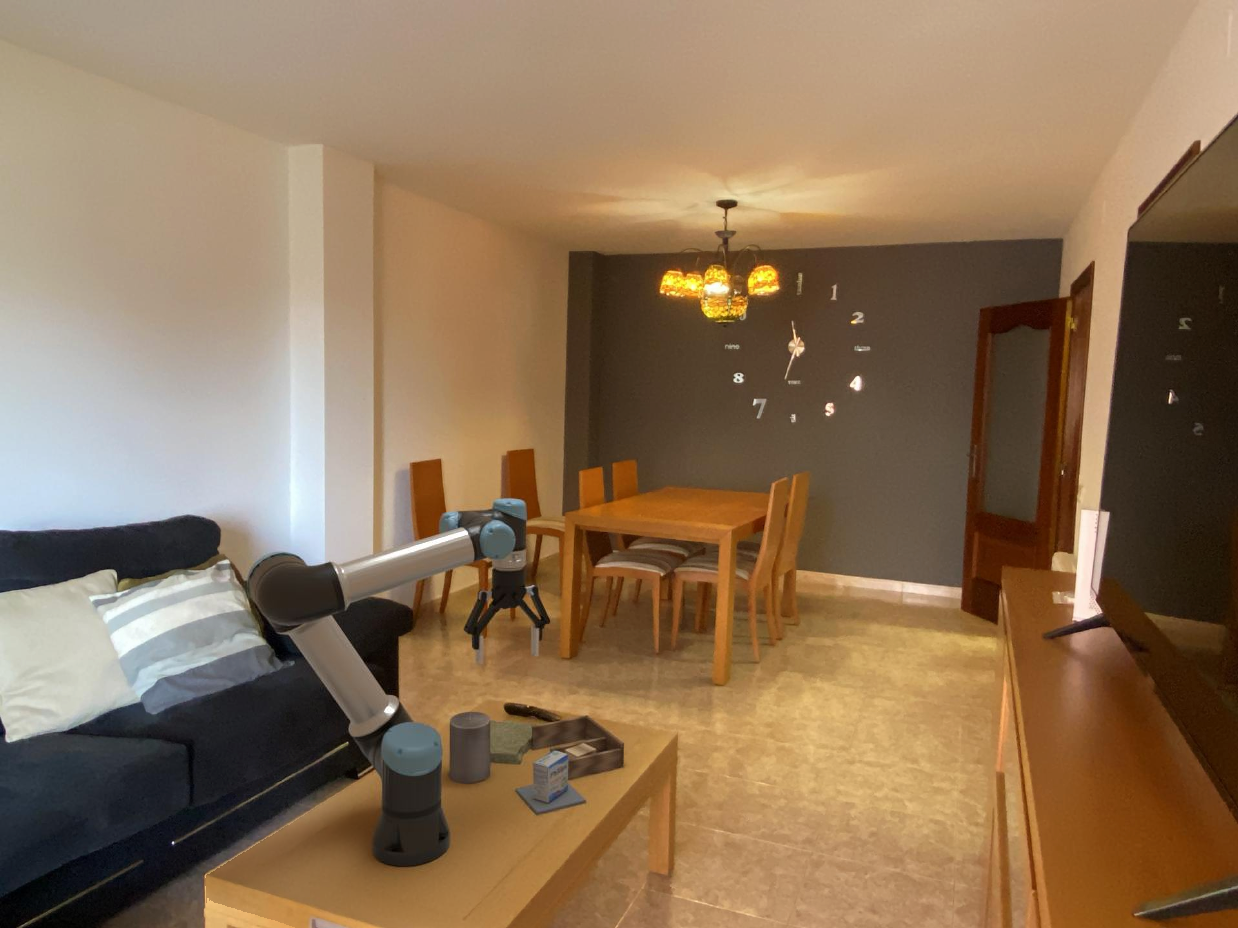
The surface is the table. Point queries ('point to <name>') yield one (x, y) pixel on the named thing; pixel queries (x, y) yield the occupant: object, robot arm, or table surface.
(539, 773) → the medicine box
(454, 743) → the pillar candle
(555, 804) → the mat
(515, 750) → the green stone slab
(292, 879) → the table surface
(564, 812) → the table surface
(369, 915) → the table surface
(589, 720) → the rack
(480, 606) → the robot arm
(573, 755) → the offcut short
